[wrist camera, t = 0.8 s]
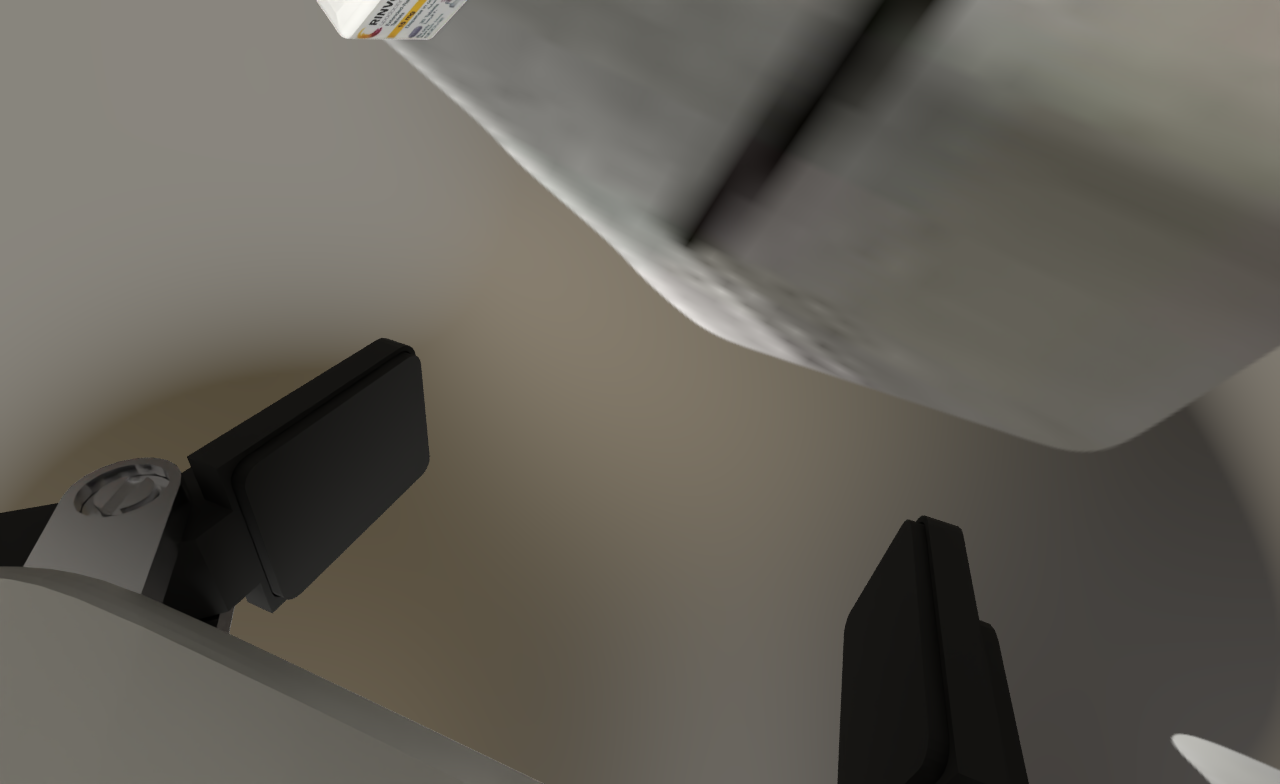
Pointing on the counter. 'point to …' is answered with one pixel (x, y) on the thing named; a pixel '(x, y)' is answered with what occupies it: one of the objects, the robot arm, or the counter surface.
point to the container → (389, 17)
